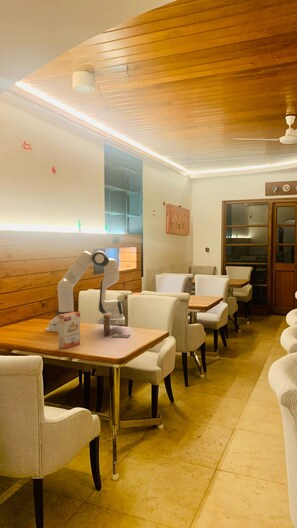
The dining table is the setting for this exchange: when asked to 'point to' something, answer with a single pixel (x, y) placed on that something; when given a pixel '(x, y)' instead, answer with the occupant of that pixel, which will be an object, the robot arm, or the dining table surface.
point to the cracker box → (69, 329)
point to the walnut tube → (106, 325)
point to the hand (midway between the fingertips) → (108, 323)
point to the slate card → (120, 335)
